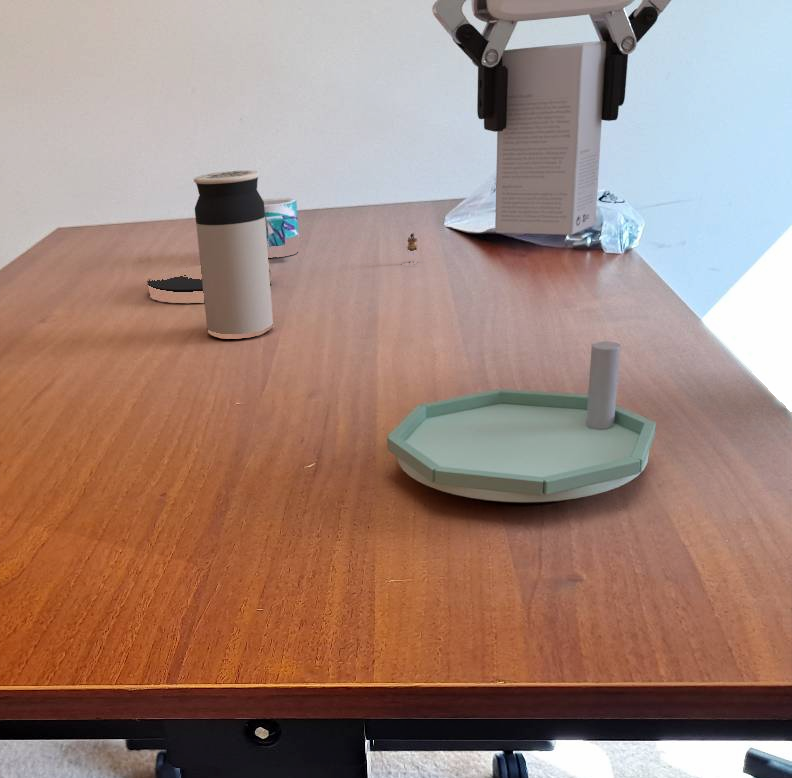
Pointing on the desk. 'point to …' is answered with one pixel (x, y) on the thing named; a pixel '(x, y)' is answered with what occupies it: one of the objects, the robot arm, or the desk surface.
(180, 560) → the desk surface
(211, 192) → the travel mug
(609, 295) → the desk surface
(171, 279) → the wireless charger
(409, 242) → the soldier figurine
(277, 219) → the mug
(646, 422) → the tray
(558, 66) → the cosmetic box
